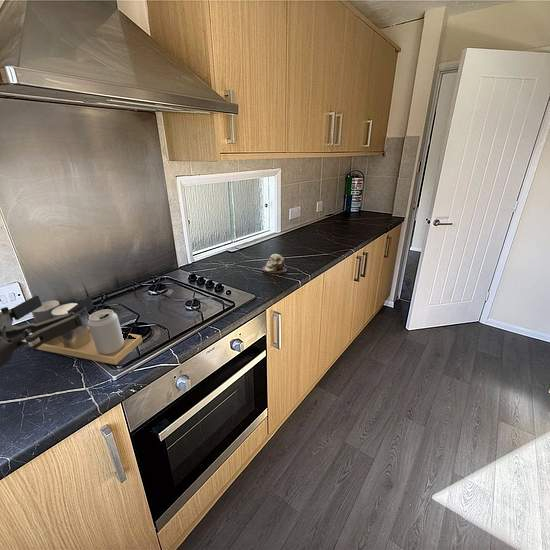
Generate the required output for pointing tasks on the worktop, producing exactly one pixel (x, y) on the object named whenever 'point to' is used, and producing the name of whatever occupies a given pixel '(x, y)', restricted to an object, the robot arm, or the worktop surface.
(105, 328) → the can
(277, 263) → the skull
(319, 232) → the worktop surface
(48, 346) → the tray
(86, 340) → the silver can
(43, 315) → the silver can
